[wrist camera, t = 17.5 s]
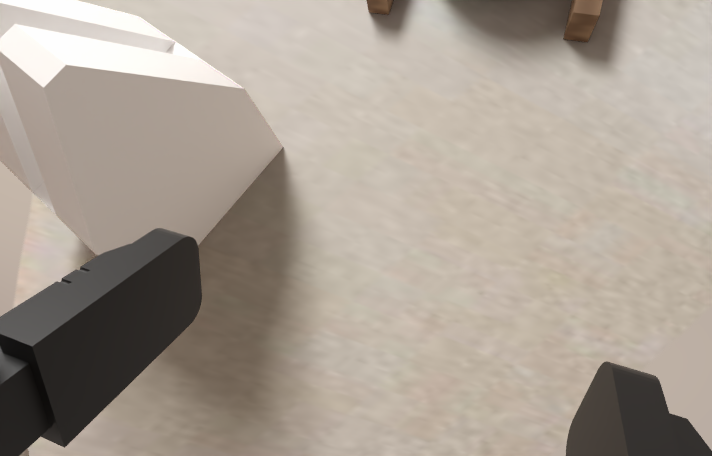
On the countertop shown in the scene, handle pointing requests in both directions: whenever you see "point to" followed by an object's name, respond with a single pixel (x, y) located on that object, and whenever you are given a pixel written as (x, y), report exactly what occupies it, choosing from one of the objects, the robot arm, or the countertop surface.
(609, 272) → the countertop surface
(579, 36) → the walnut bay
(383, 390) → the countertop surface
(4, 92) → the white house shaped block
